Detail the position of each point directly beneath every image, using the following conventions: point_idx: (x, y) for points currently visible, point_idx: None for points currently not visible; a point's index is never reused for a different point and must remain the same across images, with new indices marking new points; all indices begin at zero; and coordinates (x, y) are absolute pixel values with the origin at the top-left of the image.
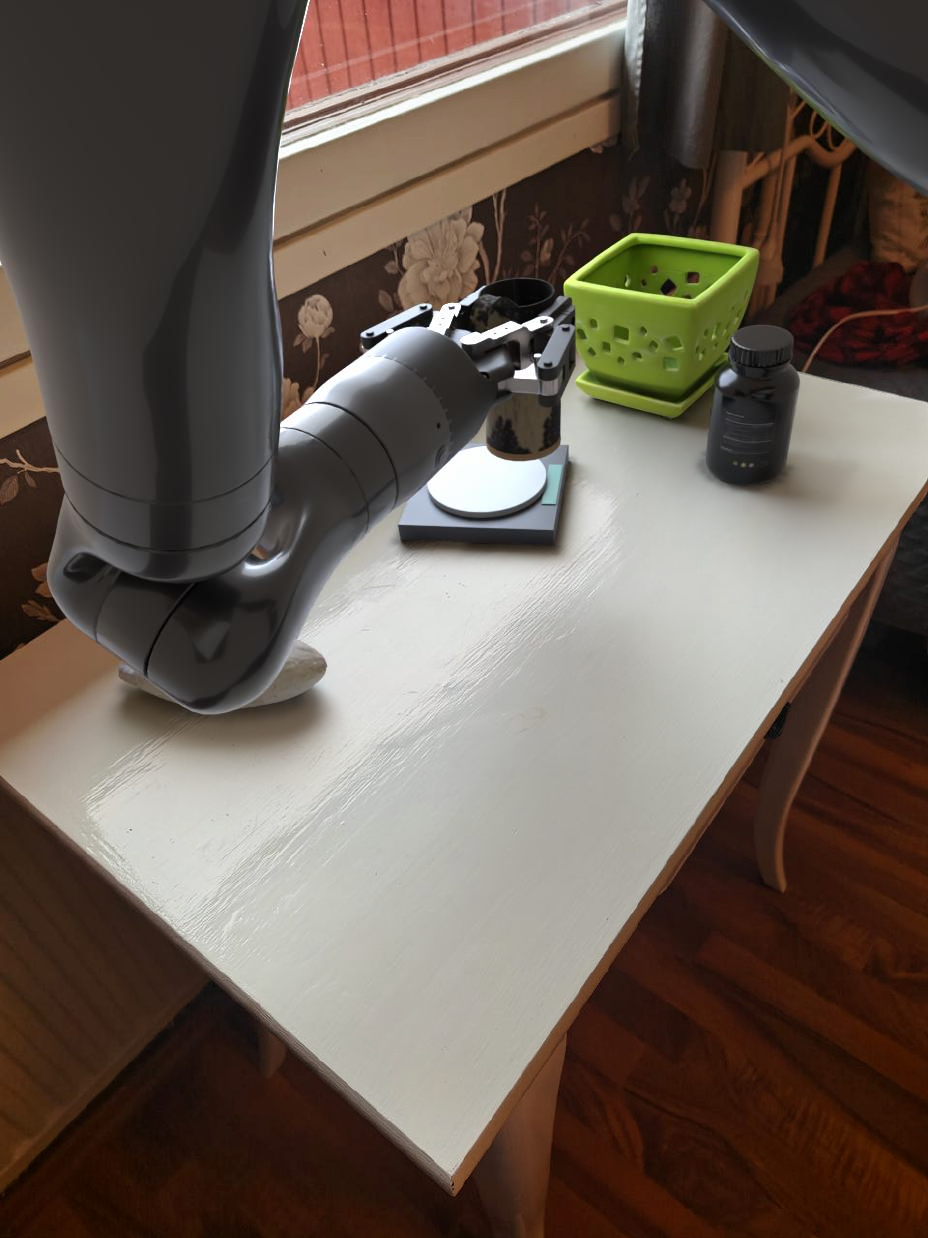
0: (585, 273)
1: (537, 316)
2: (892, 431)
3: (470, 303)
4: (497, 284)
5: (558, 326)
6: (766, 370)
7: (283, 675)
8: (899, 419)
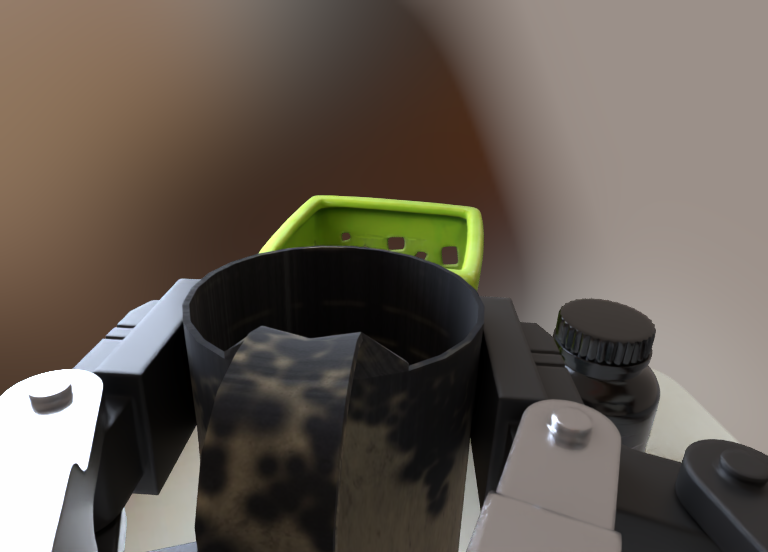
0: (281, 243)
1: (499, 401)
2: (669, 400)
3: (148, 360)
4: (236, 272)
5: (689, 463)
6: (637, 368)
7: None
8: (659, 383)
